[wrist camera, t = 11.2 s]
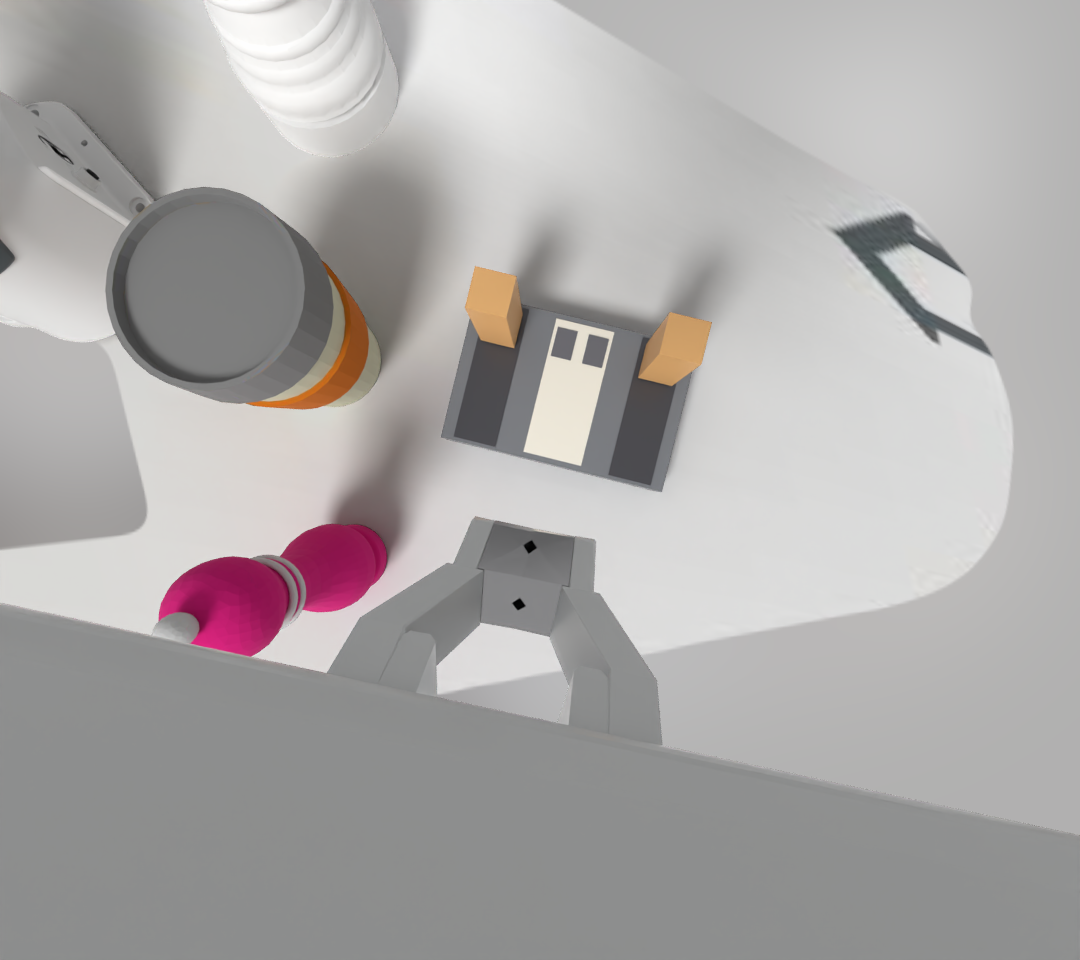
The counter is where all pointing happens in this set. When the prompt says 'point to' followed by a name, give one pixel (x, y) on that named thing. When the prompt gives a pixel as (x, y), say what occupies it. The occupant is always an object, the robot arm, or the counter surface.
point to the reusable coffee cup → (236, 306)
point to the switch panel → (567, 399)
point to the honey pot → (312, 68)
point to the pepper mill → (270, 589)
